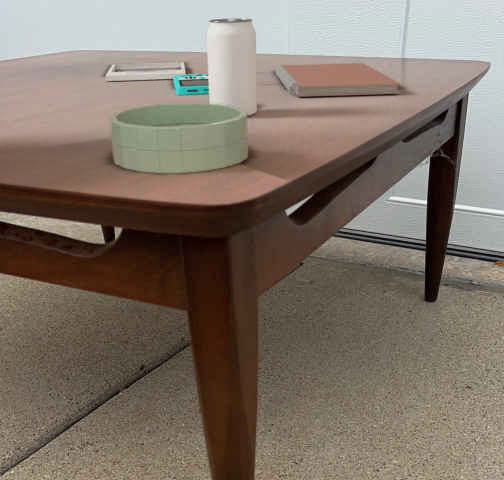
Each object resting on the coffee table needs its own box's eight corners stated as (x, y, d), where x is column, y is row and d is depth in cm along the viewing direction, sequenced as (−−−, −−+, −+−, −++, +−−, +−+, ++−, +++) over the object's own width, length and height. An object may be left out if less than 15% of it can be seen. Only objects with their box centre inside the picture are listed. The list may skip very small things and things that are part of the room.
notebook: (274, 75, 130) (274, 64, 129) (362, 72, 131) (362, 61, 130) (290, 98, 105) (290, 84, 104) (399, 94, 106) (400, 81, 105)
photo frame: (105, 74, 125) (112, 63, 142) (105, 81, 126) (113, 69, 142) (185, 71, 127) (183, 61, 143) (186, 78, 127) (183, 66, 143)
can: (239, 108, 98) (236, 17, 93) (266, 114, 94) (265, 19, 88) (201, 113, 95) (196, 20, 90) (227, 120, 90) (224, 22, 85)
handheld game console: (228, 79, 126) (228, 71, 125) (239, 92, 112) (238, 83, 111) (173, 81, 125) (172, 73, 124) (177, 95, 110) (176, 86, 110)
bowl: (151, 190, 61) (147, 134, 59) (93, 161, 71) (88, 112, 69) (274, 167, 68) (273, 115, 66) (205, 143, 78) (203, 98, 76)
